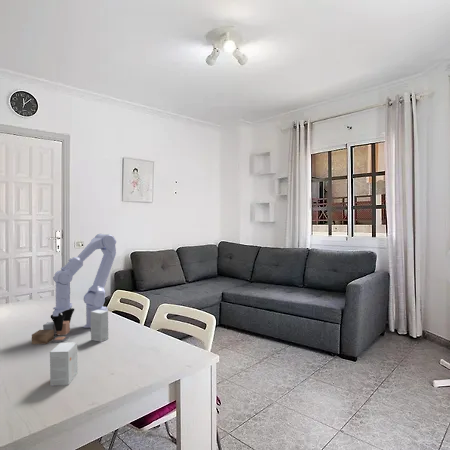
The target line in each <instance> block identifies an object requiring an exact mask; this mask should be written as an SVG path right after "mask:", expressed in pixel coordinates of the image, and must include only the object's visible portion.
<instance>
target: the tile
mask: <svg viewBox="0 0 450 450" xmlns="http://www.w3.org/2000/svg"><path fill="white" fill-rule="evenodd" d="M69 338H70V337H69V336H66V335H63V336H56V337H54V339H53V340H51V341H50V343H65V342H66V341H67V340H68V339H69Z"/></svg>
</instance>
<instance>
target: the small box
mask: <svg viewBox="0 0 450 450" xmlns="http://www.w3.org/2000/svg"><path fill="white" fill-rule="evenodd" d="M78 367H79V366H78V342H72V341H71V342H70V341H69V342H58V344H57V345H56V346H55V347H54V348H53V349H51V351H50V352H49V369H50V370H49V371H50V373H49V374H50V379H49V380H50V382H49V385H50V386H51V387H53V386H56V387H57V386H69V385H70V384H71V382H72V381H73V380H74V378H76V376H77V374H78V370H79V369H78Z"/></svg>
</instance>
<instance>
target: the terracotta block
mask: <svg viewBox="0 0 450 450" xmlns="http://www.w3.org/2000/svg"><path fill="white" fill-rule="evenodd" d="M70 327H71V321H63V327H62V331H57V333H56V336H66V335H67V334H68V333H70V332H71V331H70V330H71V328H70Z"/></svg>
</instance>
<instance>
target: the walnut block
mask: <svg viewBox="0 0 450 450" xmlns="http://www.w3.org/2000/svg"><path fill="white" fill-rule="evenodd" d="M54 338H55V335H54V330H43V329H39V330H37V331H35V332H34V333H32V334H31V345H44V344H45V345H47V344H49V343H51V341H52V340H53V339H54Z"/></svg>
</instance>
